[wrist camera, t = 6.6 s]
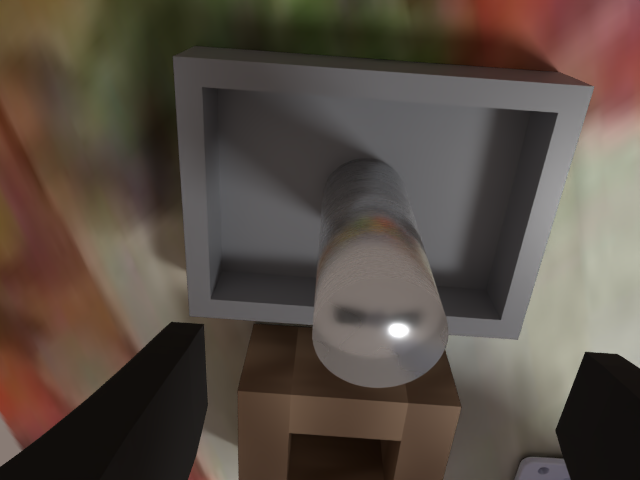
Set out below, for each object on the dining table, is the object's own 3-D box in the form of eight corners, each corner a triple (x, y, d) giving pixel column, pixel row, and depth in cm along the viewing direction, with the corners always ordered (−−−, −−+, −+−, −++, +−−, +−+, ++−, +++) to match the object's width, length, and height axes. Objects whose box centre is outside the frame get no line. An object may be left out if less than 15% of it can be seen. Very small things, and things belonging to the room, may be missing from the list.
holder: (441, 336, 22) (461, 406, 18) (413, 465, 25) (425, 545, 22) (254, 323, 22) (237, 390, 18) (253, 454, 25) (239, 531, 22)
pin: (411, 162, 18) (460, 284, 11) (399, 238, 19) (435, 392, 12) (325, 155, 18) (317, 273, 11) (319, 231, 19) (308, 382, 12)
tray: (560, 72, 17) (594, 86, 14) (498, 301, 21) (518, 339, 19) (194, 45, 17) (172, 56, 14) (205, 279, 21) (189, 316, 19)
